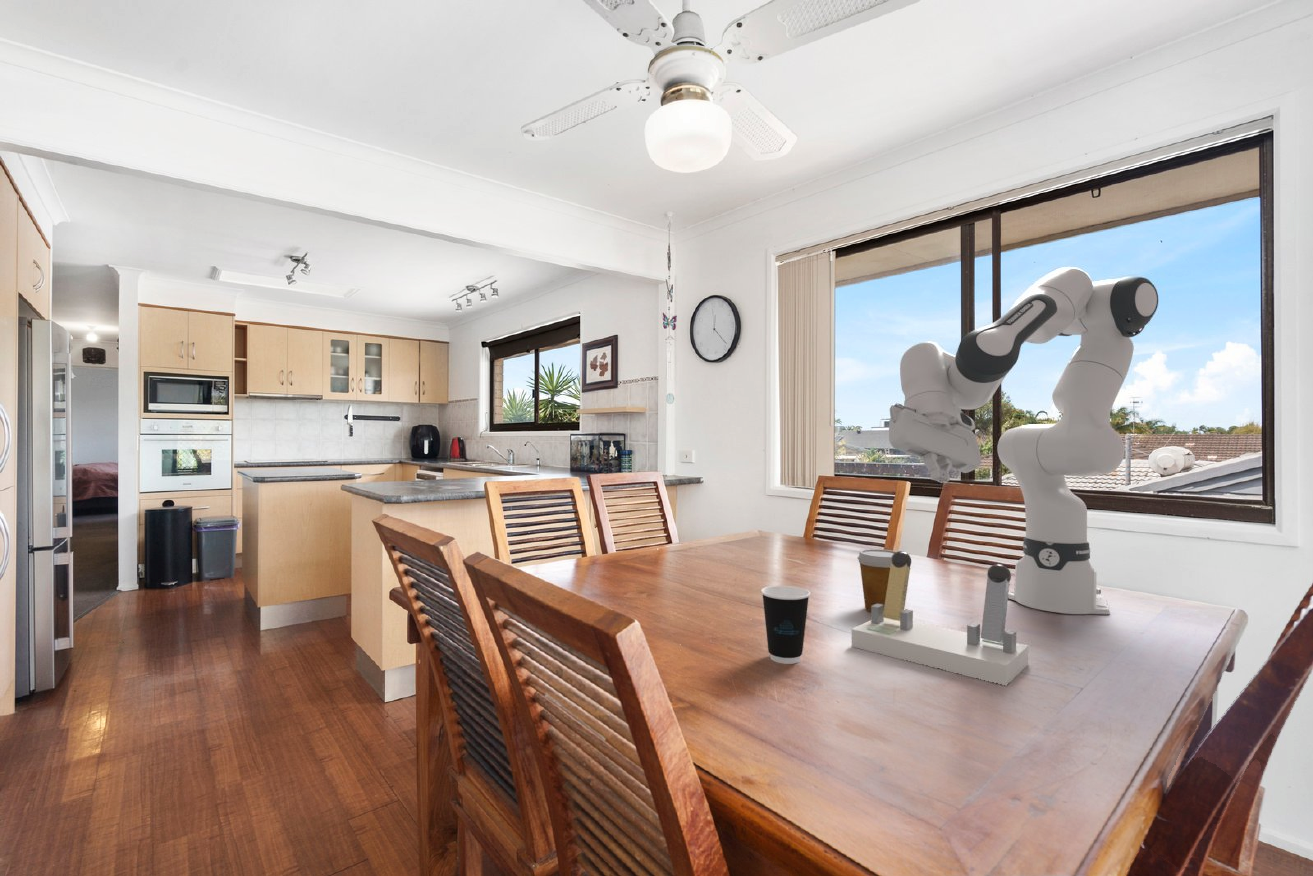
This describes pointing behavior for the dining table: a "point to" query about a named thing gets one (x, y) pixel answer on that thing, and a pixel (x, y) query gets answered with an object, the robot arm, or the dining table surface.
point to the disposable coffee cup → (875, 575)
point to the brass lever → (897, 585)
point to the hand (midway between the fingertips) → (940, 480)
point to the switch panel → (942, 646)
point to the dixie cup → (785, 621)
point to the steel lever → (996, 603)
